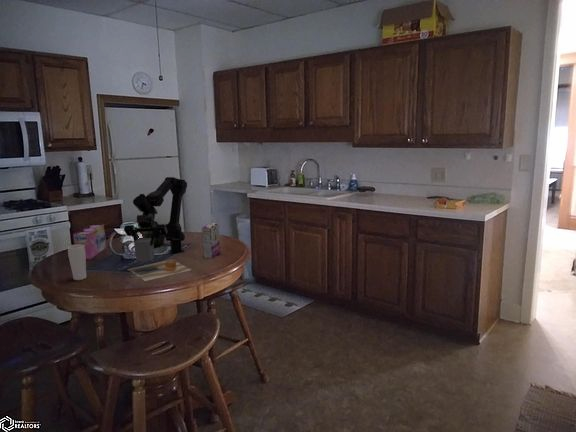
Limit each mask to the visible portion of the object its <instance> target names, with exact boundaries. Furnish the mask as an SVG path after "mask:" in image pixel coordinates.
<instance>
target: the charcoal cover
mask: <svg viewBox="0 0 576 432" xmlns="http://www.w3.org/2000/svg"><path fill="white" fill-rule="evenodd" d="M150 242H151V238H139V239H137V240H136V241H135V242H134V241H133V245H134V253H135V254H134V257H135V261H136V262H151V261H152V260H153V259H154V258H155V257H156V255H155V246H154V244H153V245H152V246H150Z"/></svg>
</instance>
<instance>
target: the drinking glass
mask: <svg viewBox="0 0 576 432" xmlns="http://www.w3.org/2000/svg"><path fill="white" fill-rule="evenodd" d="M67 255H68V260H69V264H70V268H71V272H72V273H71V274H72V279H73V280H74V281H81V280H85V279H86V278H87V261H86V260H87V259H86V254H85V247H84V245H83V244H76V245H75V244H71V245H69V246H67Z"/></svg>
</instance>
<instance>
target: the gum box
mask: <svg viewBox="0 0 576 432" xmlns="http://www.w3.org/2000/svg"><path fill="white" fill-rule="evenodd" d="M72 235H73V243H74V244H73V245H76V244H83V245H84V247H85V254H86V260H92V259H93V258H94V257H96V256H97V255H99V253H101V252H102V251H103V250H105V249H106V248H107V247H108V245H107V240H106V230H105V224H104V223H101V225H99V224H97V225H94V224H89V225H87V226H85V227H83V228H82V229H81V230H78V231H76V232H74V233H73V234H72Z"/></svg>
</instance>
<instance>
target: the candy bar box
mask: <svg viewBox="0 0 576 432" xmlns="http://www.w3.org/2000/svg"><path fill="white" fill-rule="evenodd" d="M201 233H202V247H203V258H204V259H205V258H206V259H214V257H217V256H218V255H219V254H221V247H220V246H221V245H220V244H221V243H220V228H219V222H209V223H207V224H206V225H205V224H204V226H202V227H201Z"/></svg>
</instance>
